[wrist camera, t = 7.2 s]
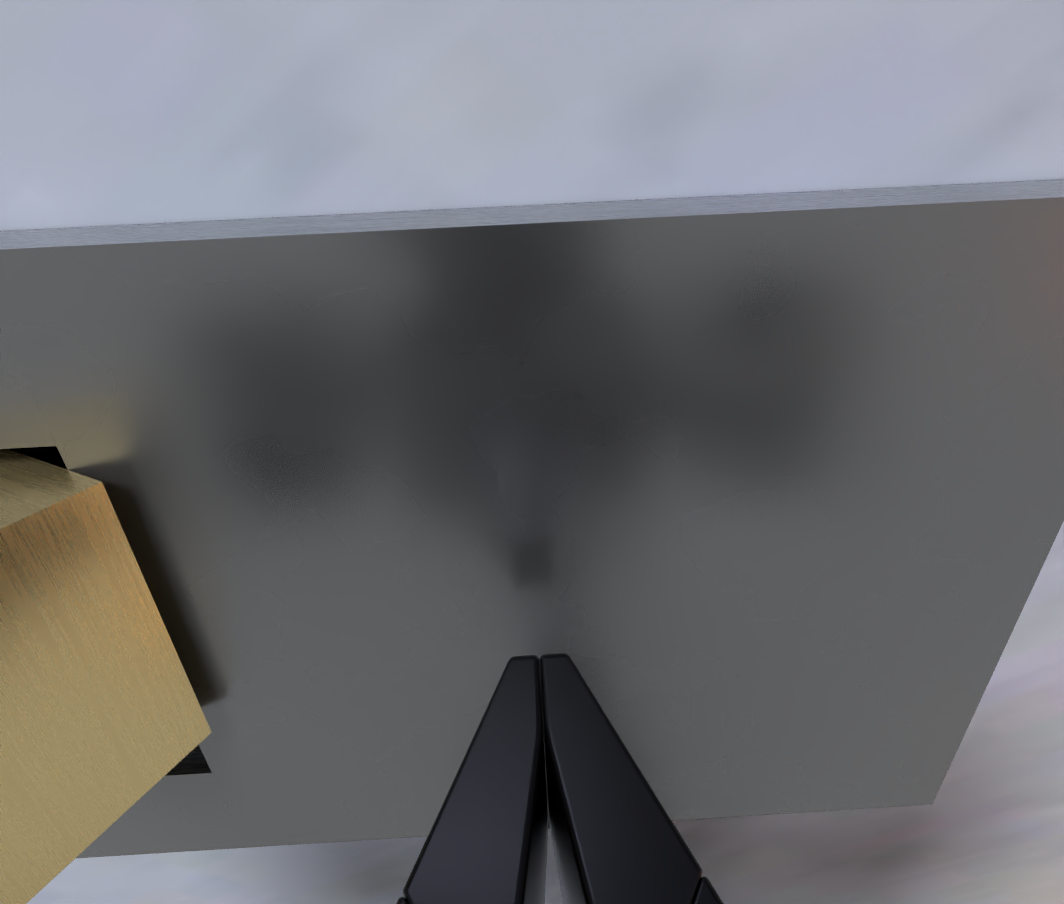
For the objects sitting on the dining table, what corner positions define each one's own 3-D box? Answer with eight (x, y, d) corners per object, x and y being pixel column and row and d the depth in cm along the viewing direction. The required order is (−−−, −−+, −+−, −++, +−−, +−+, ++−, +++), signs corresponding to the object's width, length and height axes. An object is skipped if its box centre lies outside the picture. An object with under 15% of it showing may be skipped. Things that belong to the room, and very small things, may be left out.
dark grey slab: (879, 721, 14) (937, 813, 12) (-123, 783, 14) (-224, 886, 12) (1073, 178, 9) (1235, 190, 7) (-602, 260, 8) (-937, 298, 6)
